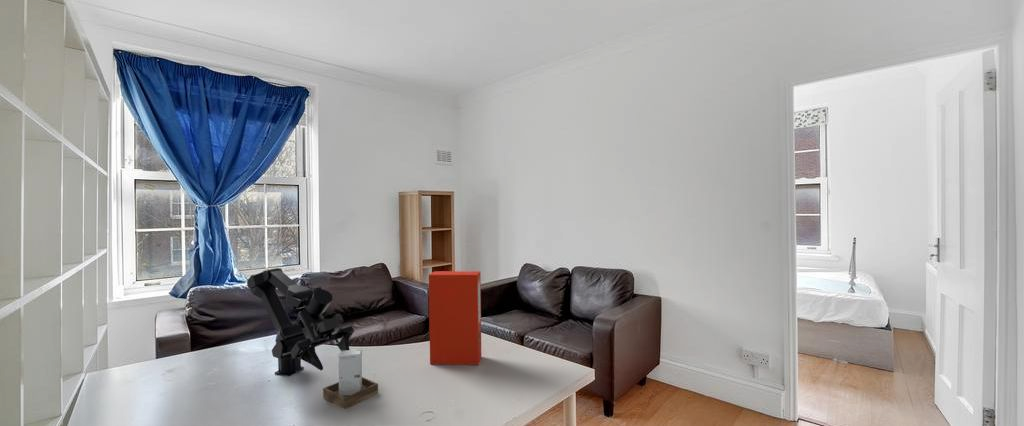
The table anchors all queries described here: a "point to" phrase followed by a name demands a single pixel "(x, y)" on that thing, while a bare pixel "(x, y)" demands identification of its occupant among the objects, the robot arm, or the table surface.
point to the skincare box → (350, 372)
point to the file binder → (455, 317)
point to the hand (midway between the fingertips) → (336, 364)
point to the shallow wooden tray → (347, 401)
